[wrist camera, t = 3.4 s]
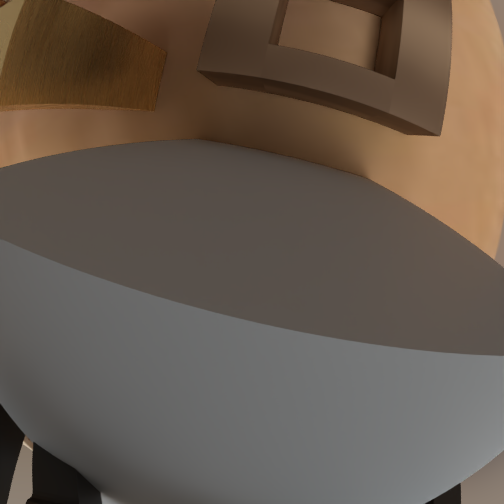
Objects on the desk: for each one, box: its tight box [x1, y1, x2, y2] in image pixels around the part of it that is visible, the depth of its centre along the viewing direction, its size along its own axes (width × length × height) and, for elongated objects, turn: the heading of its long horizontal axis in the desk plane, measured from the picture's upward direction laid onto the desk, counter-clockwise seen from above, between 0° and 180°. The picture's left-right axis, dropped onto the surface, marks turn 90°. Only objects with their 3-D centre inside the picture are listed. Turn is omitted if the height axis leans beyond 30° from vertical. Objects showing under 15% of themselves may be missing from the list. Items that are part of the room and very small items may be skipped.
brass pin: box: [0, 0, 167, 112], centre depth 8 cm, size 4×4×10 cm
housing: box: [0, 139, 504, 504], centre depth 10 cm, size 14×9×13 cm, turn 168°
